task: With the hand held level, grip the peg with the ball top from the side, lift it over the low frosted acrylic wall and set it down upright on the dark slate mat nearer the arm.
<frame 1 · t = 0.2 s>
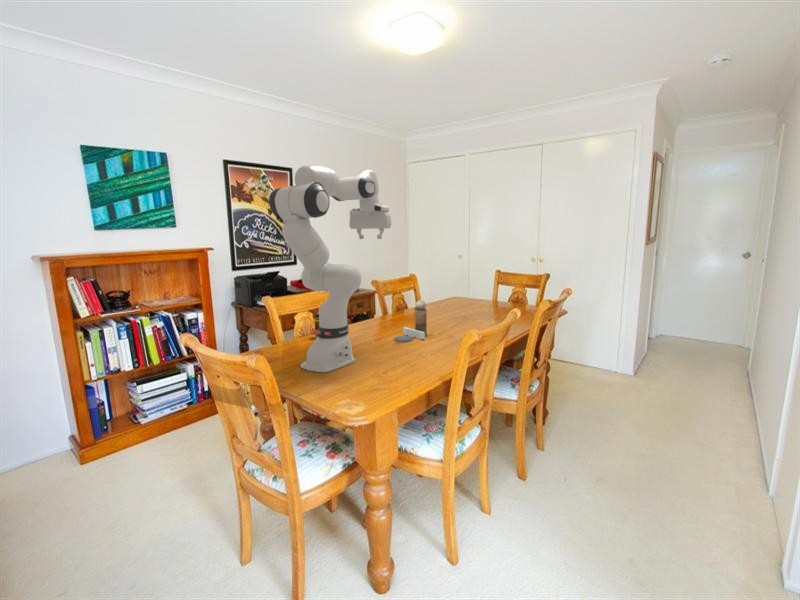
hand: (370, 238, 181), 48 cm above the table, tool pointing down, fingers open, 8 cm apart
peg: (420, 335, 196), on the table
condiment: (323, 337, 196), on the table
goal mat: (403, 339, 189), on the table
acrylic wall: (413, 336, 193), on the table
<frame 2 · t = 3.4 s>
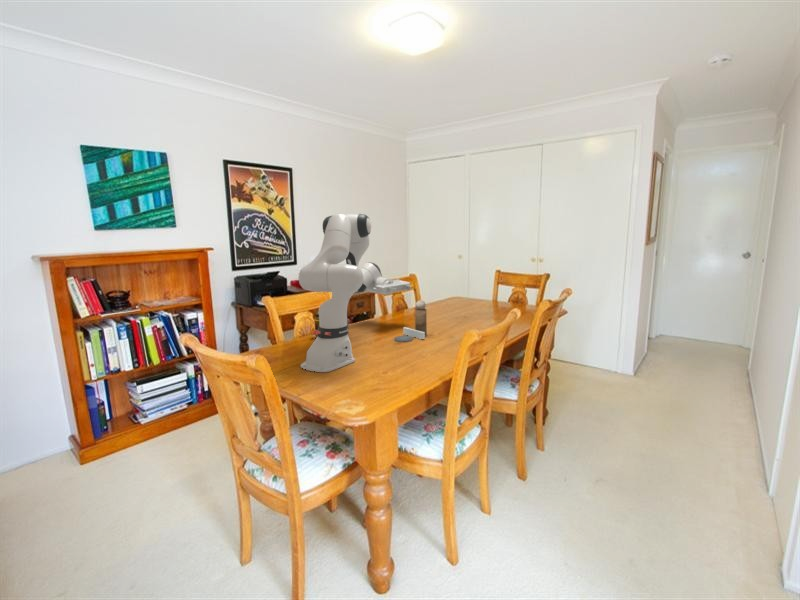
hand: (403, 289, 201), 22 cm above the table, tool horizontal, fingers open, 8 cm apart
nothing on the table moved.
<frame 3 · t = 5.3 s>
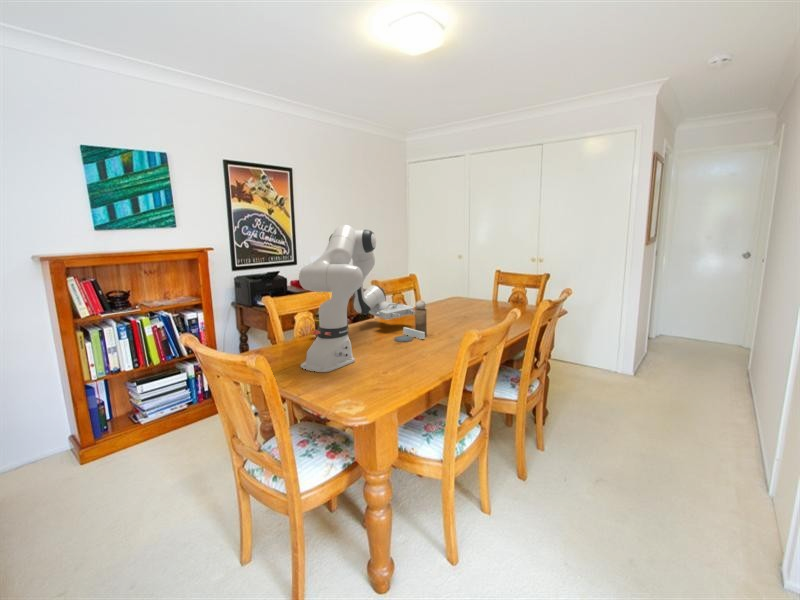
hand: (407, 314, 201), 9 cm above the table, tool horizontal, fingers open, 8 cm apart
nothing on the table moved.
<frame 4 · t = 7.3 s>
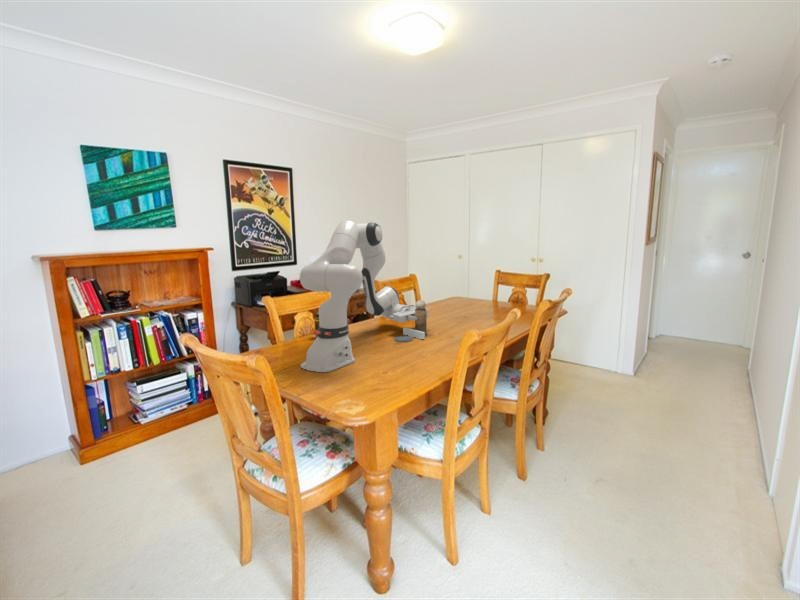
hand: (422, 317, 194), 9 cm above the table, tool horizontal, fingers closed on peg, 6 cm apart
peg: (420, 335, 196), on the table, touching gripper
everything else where it was.
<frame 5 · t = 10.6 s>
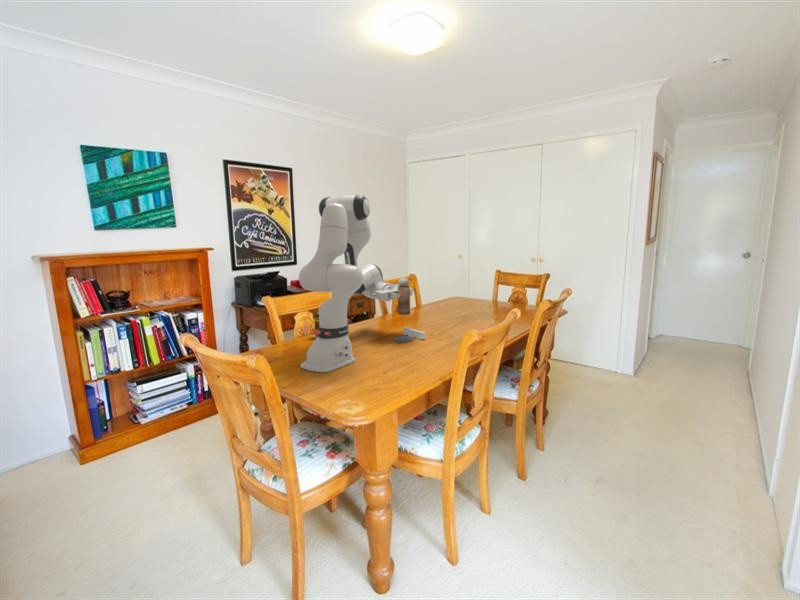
hand: (405, 295, 184), 22 cm above the table, tool horizontal, fingers closed on peg, 6 cm apart
peg: (404, 313, 186), point 13 cm above the table, touching gripper
everything else where it was.
when the fingers open (10 cm above the table, at t = 13.4 s): peg stays where it is, resting on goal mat.
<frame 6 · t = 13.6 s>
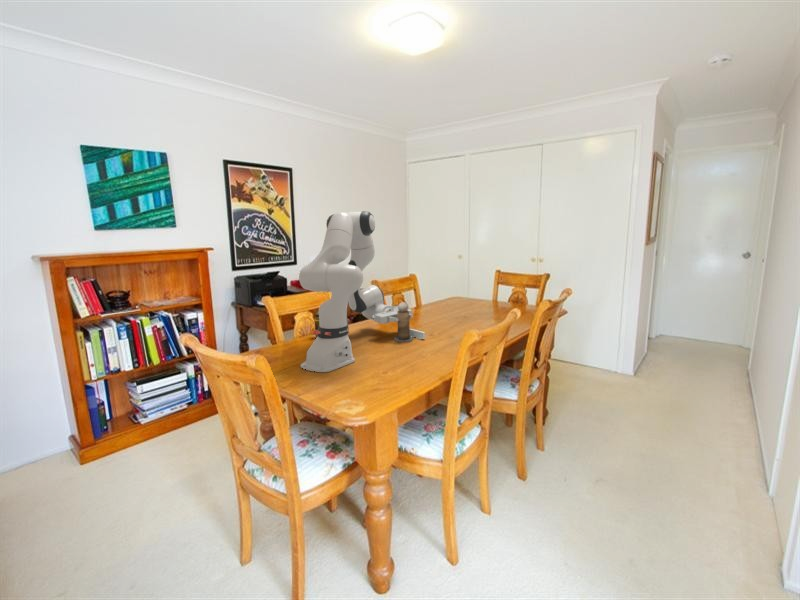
hand: (404, 318, 186), 10 cm above the table, tool horizontal, fingers open, 8 cm apart
peg: (403, 338, 189), point 1 cm above the table, touching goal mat
everything else where it was.
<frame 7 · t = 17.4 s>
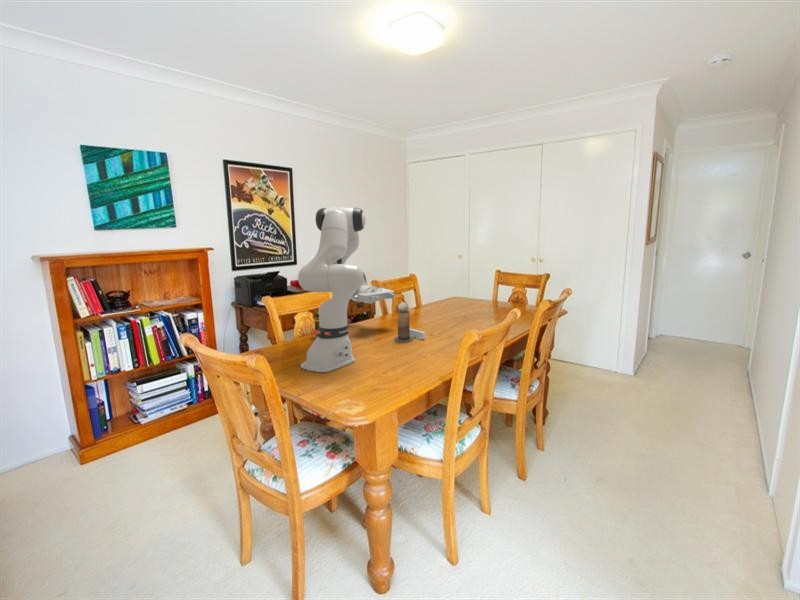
hand: (386, 297, 194), 19 cm above the table, tool horizontal, fingers open, 8 cm apart
nothing on the table moved.
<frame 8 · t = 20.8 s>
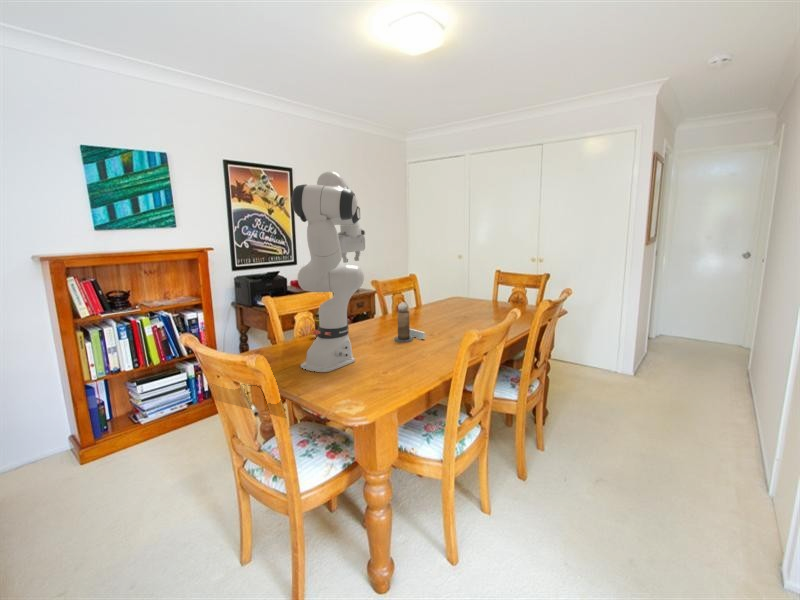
hand: (351, 261, 187), 37 cm above the table, tool pointing down, fingers open, 8 cm apart
nothing on the table moved.
at the end: peg 0.0 cm off-centre on the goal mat, point 0.6 cm above the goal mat's base; peg tilted 0°; the gripper is holding nothing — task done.
